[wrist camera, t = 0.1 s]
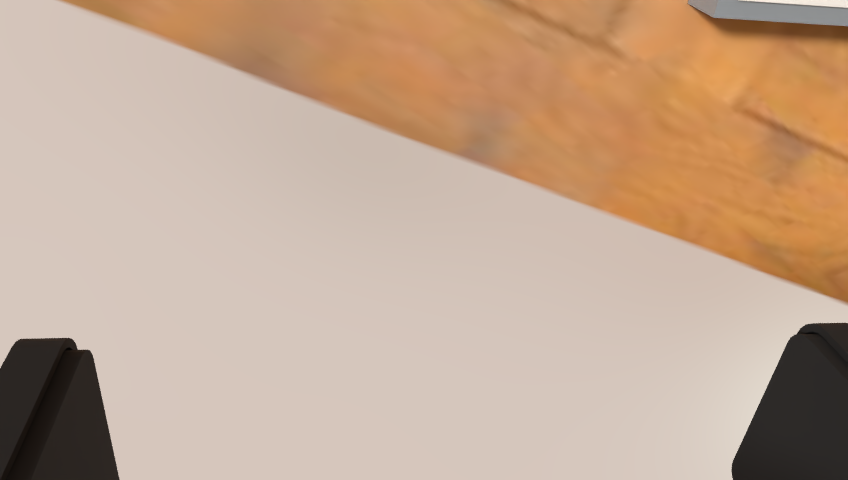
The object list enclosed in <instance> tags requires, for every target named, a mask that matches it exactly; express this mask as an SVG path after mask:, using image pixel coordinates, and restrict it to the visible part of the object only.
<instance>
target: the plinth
mask: <svg viewBox="0 0 848 480" xmlns="http://www.w3.org/2000/svg"><path fill="white" fill-rule="evenodd" d="M688 4H689V5H691V6H693V7H695V8H697V9H698V10H700V11H702V12H704V13H706V14H707V15H709V16H711V17H713V18H726V19H742V20H758V21H773V22H789V23H805V24H821V25H836V26H848V0H689V1H688Z"/></svg>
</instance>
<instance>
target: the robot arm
mask: <svg viewBox="0 0 848 480" xmlns="http://www.w3.org/2000/svg"><path fill="white" fill-rule="evenodd" d="M732 478H733V480H848V323H818V324H817V323H816V324H807V325H805V326H803V327H802V328H801V329H800V330H799V332H798V333H797V335H794V336H792V337H791V338H790V340H789V341H788V343H787V345H786V347H785V350H784V352H783V354H782V356H781V358H780V360H779V363H778V365H777V367H776V369H775V371H774V373H773V375H772V378H771V380H770V382H769V384H768V386H767V389H766V391H765V393H764V395H763V397H762V399H761V402H760V404H759V406H758V408H757V410H756V412H755V415H754V417H753V419H752V421H751V423H750V425H749V428H748V430H747V432H746V434H745V436H744V439H743V441H742V443H741V445H740V447H739V449H738V451H737V454H736V456H735V458H734V460H733V463H732ZM0 480H119V476H118V471H117V466H116V462H115V457H114V452H113V447H112V443H111V439H110V433H109V429H108V424H107V420H106V415H105V410H104V405H103V401H102V396H101V391H100V387H99V382H98V378H97V373H96V368H95V363H94V359H93V355H92V353H91V352H90V350H78V349H77V346H76V343H75V342H74V341H73V340H72V339H70V338H49V339H48V338H45V339H20V340H18V341H16V342H15V344H14V345H13V346H12V348H11V350H10V352H9V353H8V355H7V357H6V359H5V361H4V362H3V364H2V366H1V368H0Z"/></svg>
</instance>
